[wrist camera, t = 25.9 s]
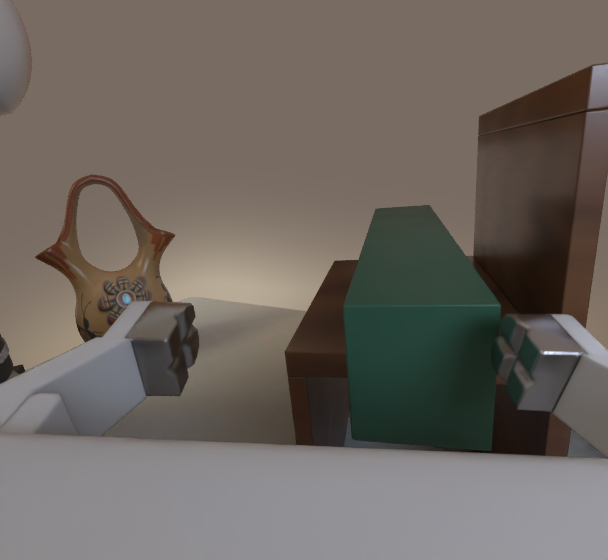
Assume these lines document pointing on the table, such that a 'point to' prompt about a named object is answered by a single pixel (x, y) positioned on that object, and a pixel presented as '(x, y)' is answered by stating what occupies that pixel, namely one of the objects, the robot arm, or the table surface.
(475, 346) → the carton
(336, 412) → the step shelf
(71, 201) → the ceramic vessel
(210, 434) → the table surface
